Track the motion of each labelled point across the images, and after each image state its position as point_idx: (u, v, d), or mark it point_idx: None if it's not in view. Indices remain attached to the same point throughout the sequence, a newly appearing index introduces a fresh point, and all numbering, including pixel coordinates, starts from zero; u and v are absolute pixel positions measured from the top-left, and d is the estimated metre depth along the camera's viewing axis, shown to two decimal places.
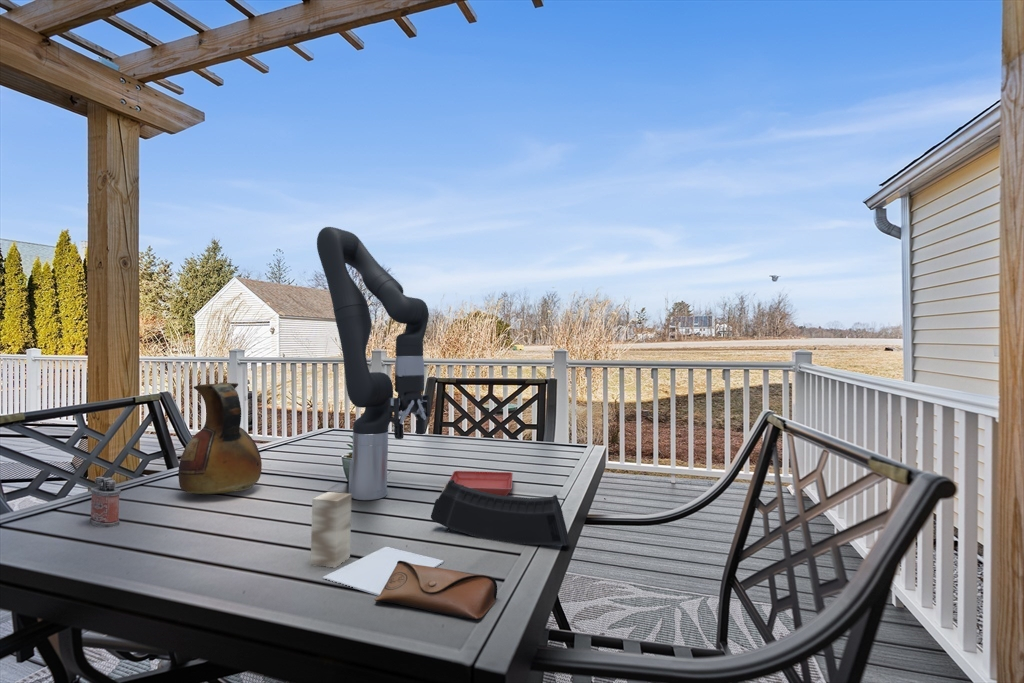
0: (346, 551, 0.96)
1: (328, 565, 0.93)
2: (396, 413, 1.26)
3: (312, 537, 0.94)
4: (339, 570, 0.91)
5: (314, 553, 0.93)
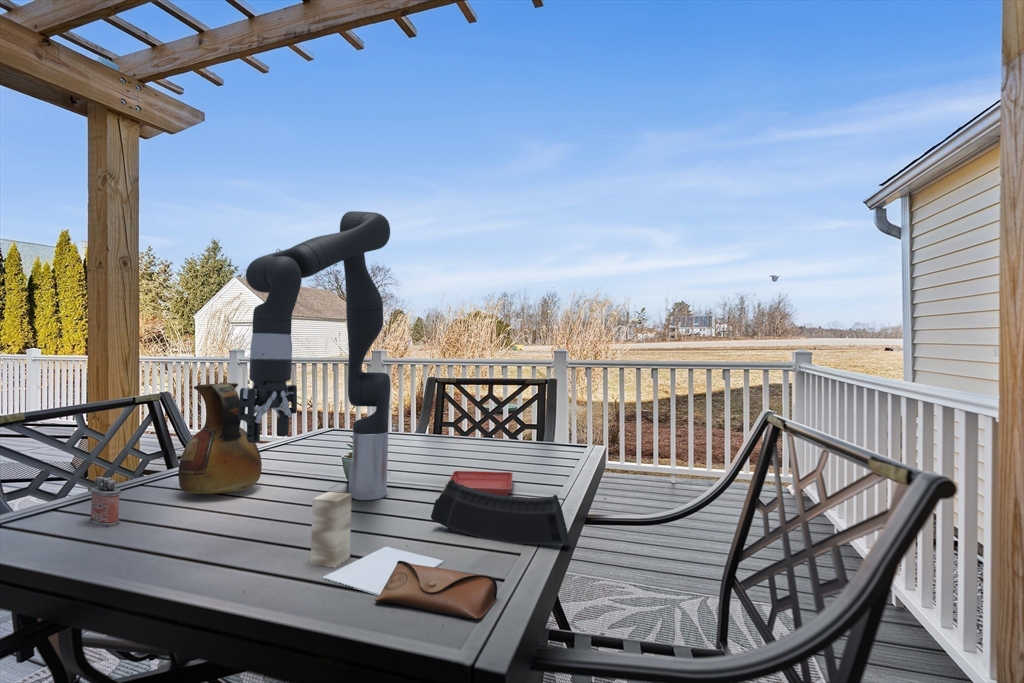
0: (346, 551, 0.96)
1: (328, 565, 0.93)
2: None
3: (312, 537, 0.94)
4: (339, 570, 0.91)
5: (314, 553, 0.93)
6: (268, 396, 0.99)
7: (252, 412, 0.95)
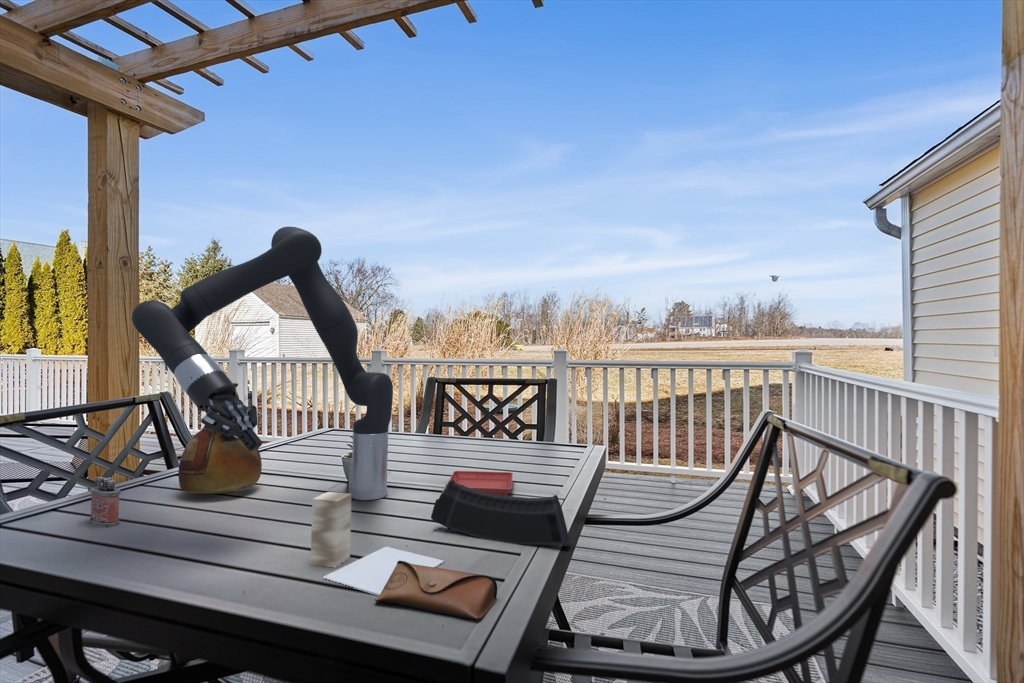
0: (346, 551, 0.96)
1: (328, 565, 0.93)
2: None
3: (312, 537, 0.94)
4: (339, 570, 0.91)
5: (314, 553, 0.93)
6: (226, 408, 0.99)
7: (231, 423, 0.97)
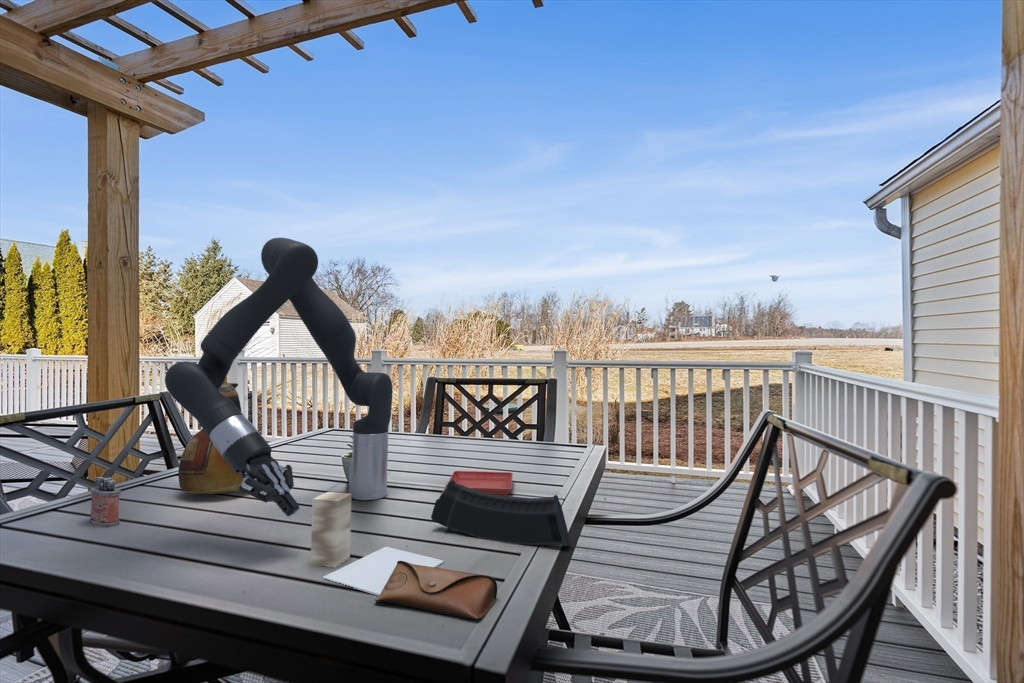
0: (346, 551, 0.96)
1: (328, 565, 0.93)
2: None
3: (312, 537, 0.94)
4: (339, 570, 0.91)
5: (314, 553, 0.93)
6: (263, 472, 0.97)
7: (269, 489, 0.95)
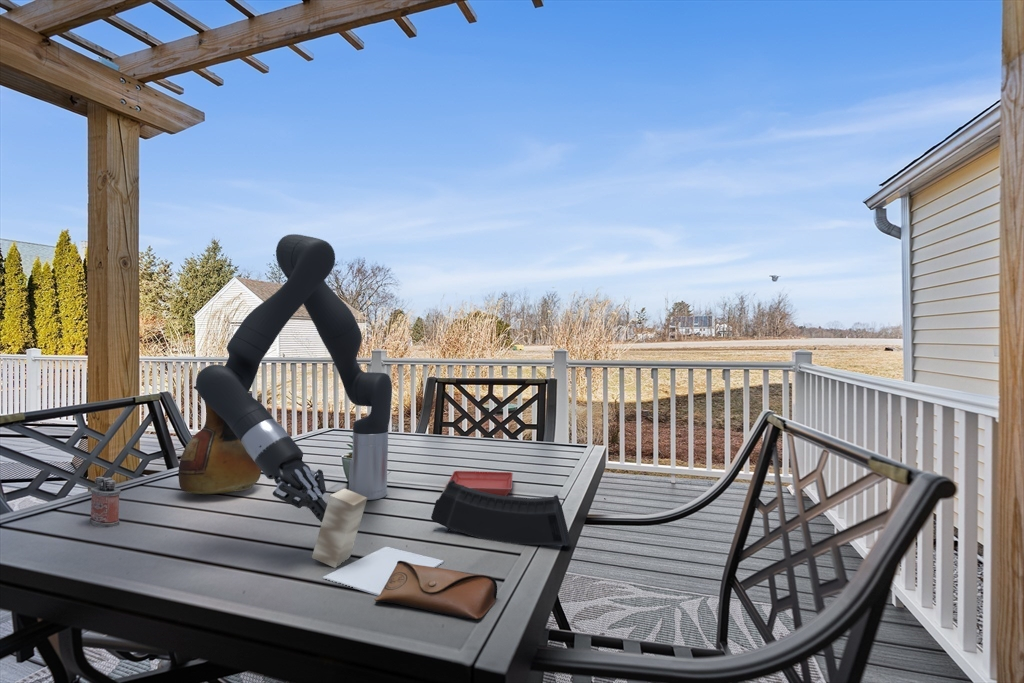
0: (348, 552, 0.96)
1: (329, 563, 0.93)
2: None
3: (320, 532, 0.93)
4: (339, 570, 0.91)
5: (318, 547, 0.93)
6: (296, 478, 0.95)
7: (303, 495, 0.93)
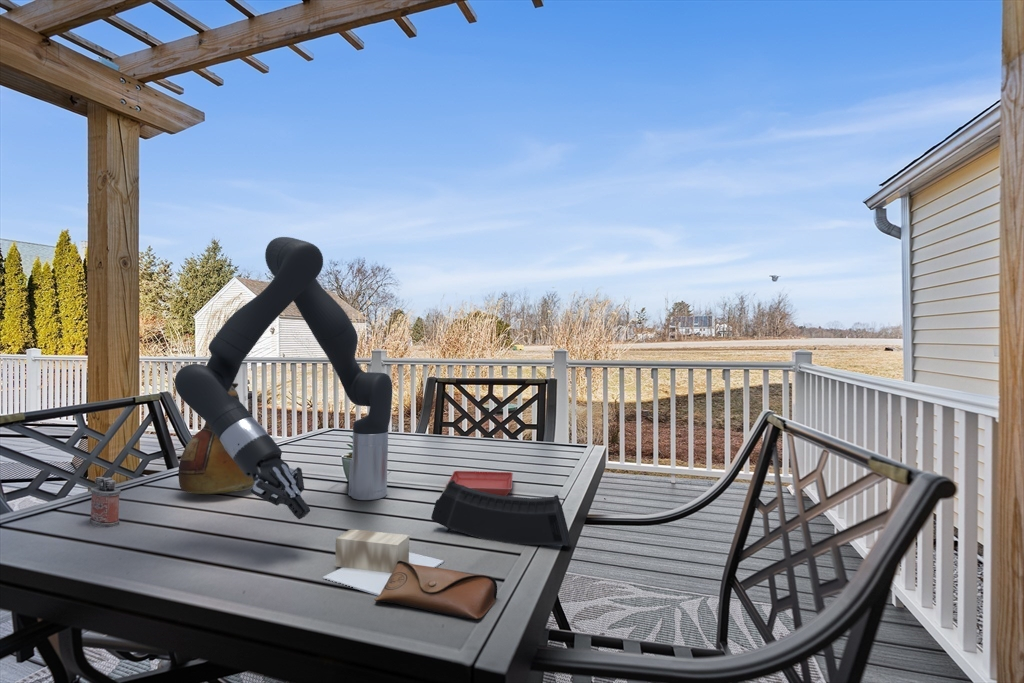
0: None
1: (337, 558, 0.92)
2: None
3: (361, 542, 0.91)
4: (339, 570, 0.91)
5: (346, 543, 0.92)
6: (274, 475, 0.96)
7: (280, 492, 0.95)
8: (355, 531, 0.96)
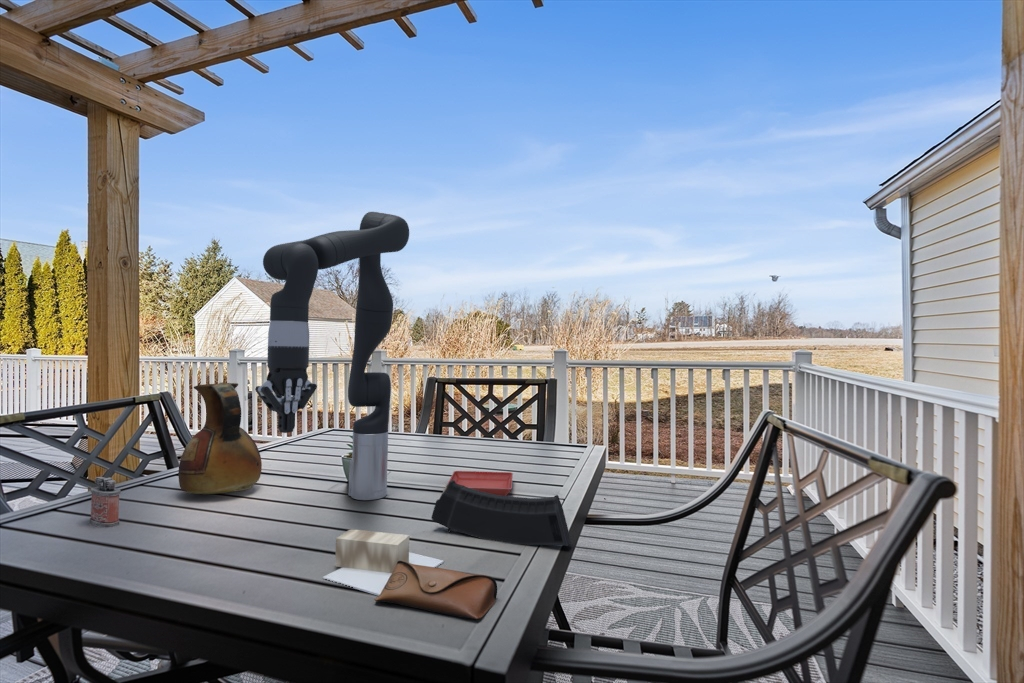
0: None
1: (337, 558, 0.92)
2: None
3: (361, 542, 0.91)
4: (339, 570, 0.91)
5: (346, 543, 0.92)
6: (284, 386, 0.99)
7: (277, 405, 0.98)
8: (355, 531, 0.96)
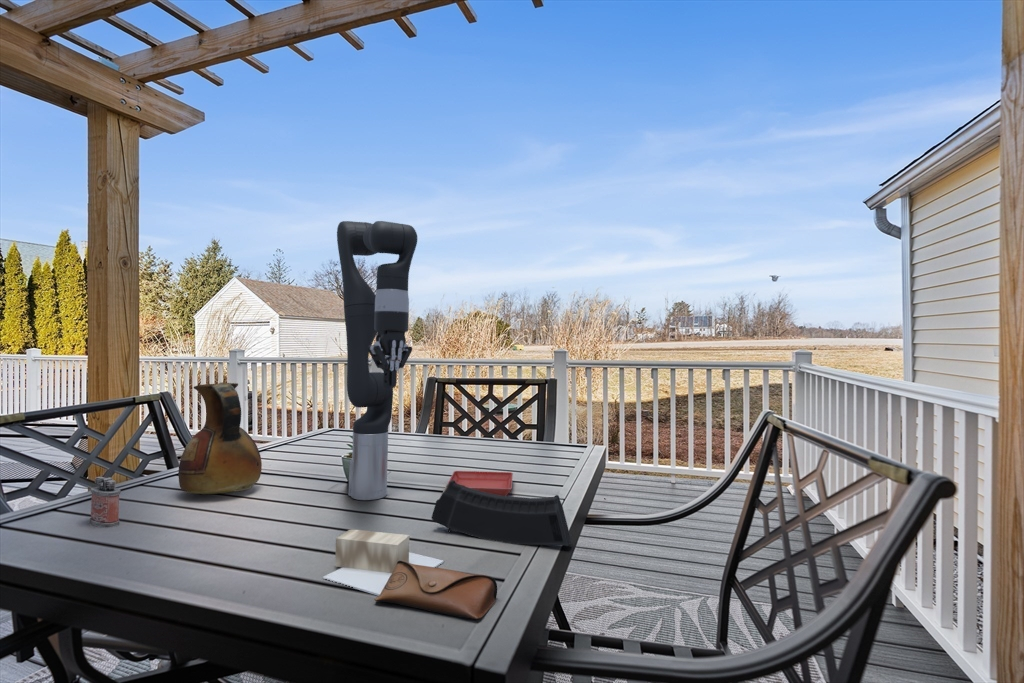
0: None
1: (337, 558, 0.92)
2: None
3: (361, 542, 0.91)
4: (339, 570, 0.91)
5: (346, 543, 0.92)
6: (390, 346, 1.14)
7: (385, 362, 1.12)
8: (355, 531, 0.96)
